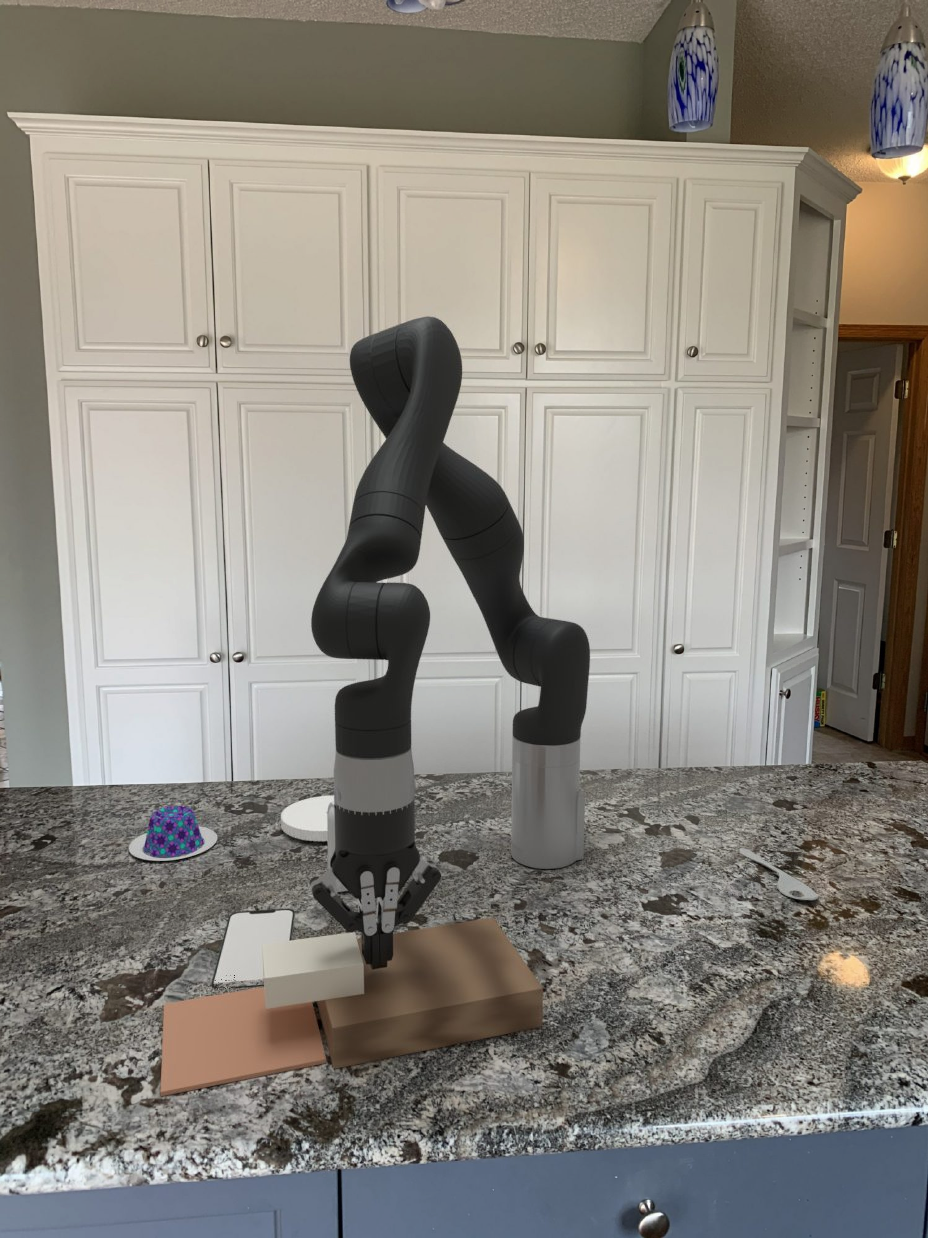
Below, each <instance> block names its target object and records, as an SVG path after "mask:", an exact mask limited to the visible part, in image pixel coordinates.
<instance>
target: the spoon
mask: <svg viewBox="0 0 928 1238" xmlns="http://www.w3.org/2000/svg"><path fill="white" fill-rule="evenodd" d="M738 850H739V853H740V854H741V855H743V856H744V857H745V858H746V859H749V860H751V861H753V862H756V863H758V864H760V865H763V866H764V867H766V868H768V869H769V870H772V871H773V872H775V873H776V874H778V876H779V877H778V881H777V883H776V884H777V885H776V886H777V890H778V891H779V893H781V894H782V895H784V896H786V897H789V898H791V899H795V900H799V901H816V900H817V899H819V895H818V894H817V892H815V891H814V889H812V888H811V887H809V886H808V885H807V884H805V883H803V882H802V881H800V880H798V879H796V878H794V877H793V876H791V875H790V874H788V873H787V872H785V871H784V870H781V869H779V868H777V867H776V866H774V865H772V863H769V862H768V861H766V860H765V859H764V858H762V857H761V856H759V855H757V854H756V853H755V852H754V851H752V850H750V849H748V848H745V847H741V848H739V849H738ZM792 891H796V892H801V893H802V894H803V896H801V897H800V896H799V897H798V896H795V895H793V894H791V893H790V892H792Z"/></svg>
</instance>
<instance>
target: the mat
mask: <svg viewBox="0 0 928 1238" xmlns="http://www.w3.org/2000/svg"><path fill="white" fill-rule="evenodd" d="M162 1021H163V1022H162V1023H163V1024H162V1046H161V1047H162V1049H161V1071H160V1072H161V1073H160V1076H161V1077H160V1097H163V1096H164V1097H165V1096H169V1095H174V1094H179V1093H184V1092H188V1091H189V1092H190V1091H194V1090H199V1089H204V1088H208V1087H214V1086H219V1085H222V1084H224V1085H225V1084H228V1083H234V1082H238V1081H244V1080H248V1079H252V1078H253V1079H254V1078H259V1077H264V1076H268V1075H273V1074H278V1073H283V1072H289V1071H293V1070H298V1069H304V1068H309V1067H314V1066H318V1065H324V1064H327V1057H326V1054H325V1049H324V1045H323V1041H322V1036H321V1032H320V1029H319V1025H318V1020H317V1017H316V1012H315V1008H314V1005H313V1002H307V1003H300V1004H294V1005H287V1006H281V1007H274V1008H267V1009H266V1005H265V990H264V986H262V987H253V988H249V989H243V990H237V991H231V992H226V993H220V994H213V995H208V996H203V997H196V998H191V999H185V1000H179V1001H173V1002H167V1003H164V1004H163V1020H162Z"/></svg>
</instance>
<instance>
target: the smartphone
mask: <svg viewBox="0 0 928 1238" xmlns="http://www.w3.org/2000/svg"><path fill="white" fill-rule="evenodd" d="M295 916H296V911H295V910H294V909H293V908H292V909H291V908H275V909H273V908H272V909H257V910H243V911H242V910H241V911H235V912H233V913H230V914H229V915H228V918H227V922H226V926H225V930H224V933H223V938H222V941H221V945H220V949H219V953H218V957H217V960H216V964H215V969H214V971H213V976H212V978H211V983H212V984H210V987H211V988H212V989H215V990H218V988H221V987H218V986H216V985H215V984H221V983H230V982H231V983H233V982H243V981H244V982H245V981H256V980H264V975H263V952H262V944H268V943H276V942H283V941H291V940H293V933H294V932H293V931H294V924H295ZM226 975H227V976H226ZM230 975H231V976H230ZM234 975H235V976H234ZM234 977H235V978H234ZM221 979H222V980H221ZM233 979H234V980H236V981H234V980H233ZM215 980H216V981H215ZM225 980H227V981H225ZM228 980H230V981H228ZM231 980H232V981H231ZM218 982H219V983H218ZM222 987H223V988H225V987H227V988H228V987H229V986H225V987H224V986H222ZM230 987H231V988H233V987H235V988H233V989H234V990H235V989H247V988H260V987H264V984H253V985H250V984H249V985H238V986H230ZM216 988H217V989H216ZM219 990H220V991H221V989H219ZM224 990H227V989H226V988H225V989H224ZM228 990H231V989H230V988H229V989H228Z"/></svg>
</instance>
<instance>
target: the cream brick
mask: <svg viewBox="0 0 928 1238" xmlns="http://www.w3.org/2000/svg"><path fill="white" fill-rule="evenodd" d="M357 939H358V938H357V936H356V931H355V932H352V933H350V932H345V933H337V934H329V935H323V936H322V935H321V936H313V937H308V938H300V939H298V938H297V939H292V940H291V941H283V942H276V943H268V944H262V952H263V975H264V979H263V985H264V986H263V987H264V990H265V1005H266V1009H267V1008H274V1007H281V1006H287V1005H294V1004H300V1003H307V1002H312V1003H313V1002H317V1001H320V1000H327V999H333V998H340V997H347V996H353V995H360V994H364V964H363V960H362V957H361V953H360V950H359V946H358V942H357Z"/></svg>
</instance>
